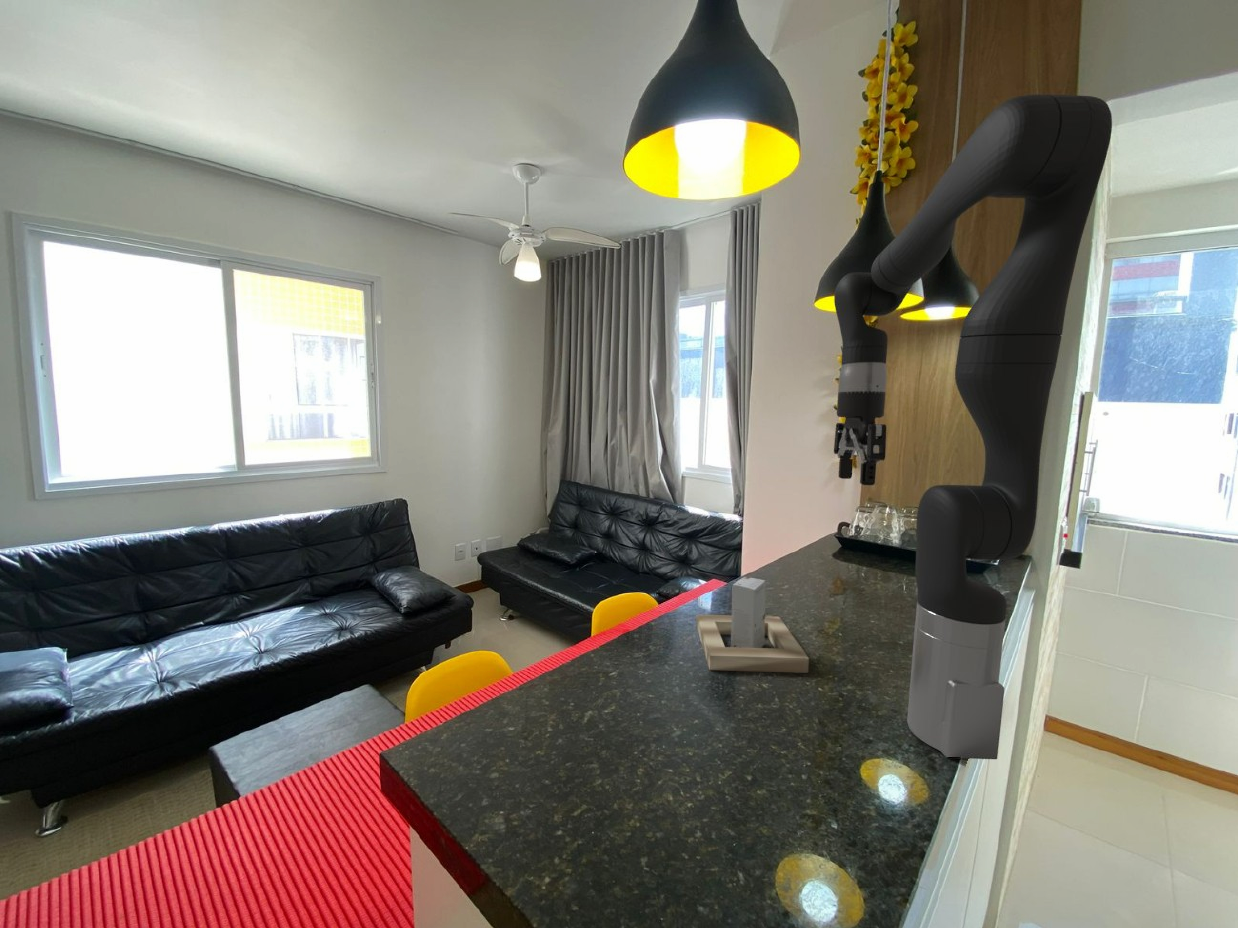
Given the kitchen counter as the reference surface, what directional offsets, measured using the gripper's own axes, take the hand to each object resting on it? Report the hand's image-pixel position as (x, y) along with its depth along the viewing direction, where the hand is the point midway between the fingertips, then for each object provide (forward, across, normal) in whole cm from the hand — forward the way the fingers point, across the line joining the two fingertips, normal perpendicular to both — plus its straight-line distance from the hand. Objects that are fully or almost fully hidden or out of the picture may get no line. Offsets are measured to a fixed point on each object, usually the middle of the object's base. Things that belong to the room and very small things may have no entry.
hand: (855, 481), depth 86 cm
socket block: (+30, -4, +19) cm, 36 cm away
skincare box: (+30, -3, +19) cm, 36 cm away
